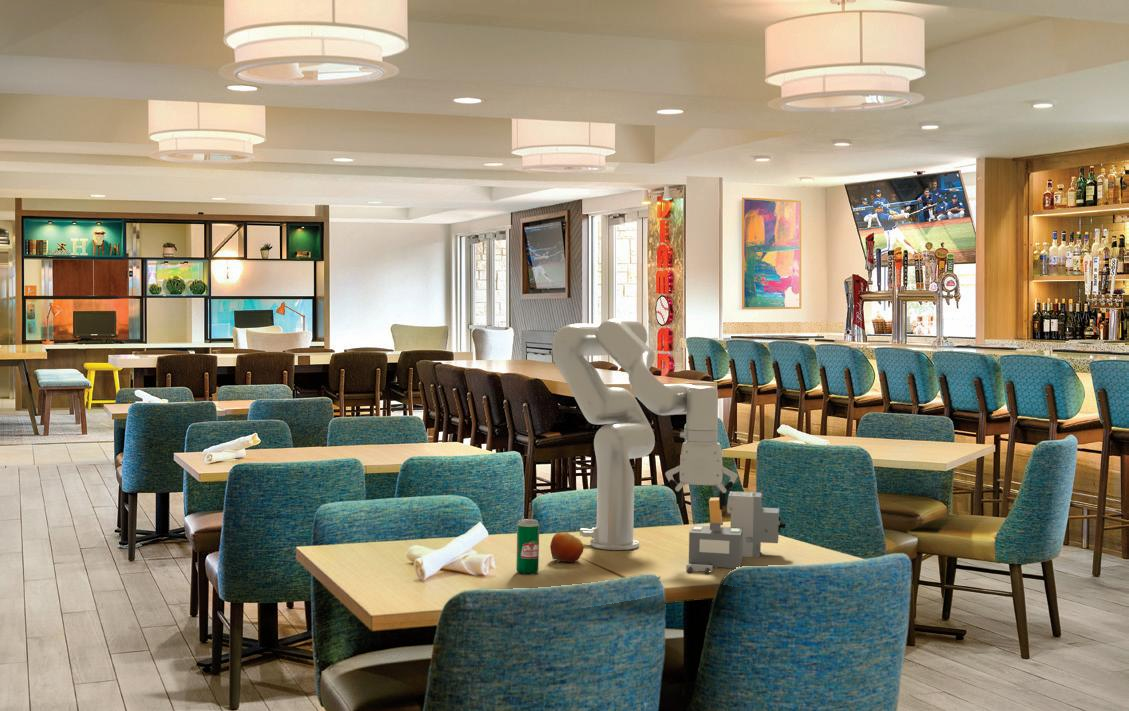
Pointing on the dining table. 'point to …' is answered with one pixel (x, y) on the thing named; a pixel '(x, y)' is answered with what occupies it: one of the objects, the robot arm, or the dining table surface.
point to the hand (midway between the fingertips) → (700, 508)
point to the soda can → (527, 546)
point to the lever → (715, 511)
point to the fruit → (566, 547)
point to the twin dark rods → (698, 567)
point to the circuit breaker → (753, 521)
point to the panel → (716, 545)
